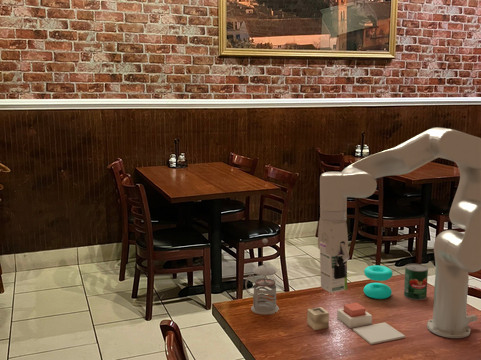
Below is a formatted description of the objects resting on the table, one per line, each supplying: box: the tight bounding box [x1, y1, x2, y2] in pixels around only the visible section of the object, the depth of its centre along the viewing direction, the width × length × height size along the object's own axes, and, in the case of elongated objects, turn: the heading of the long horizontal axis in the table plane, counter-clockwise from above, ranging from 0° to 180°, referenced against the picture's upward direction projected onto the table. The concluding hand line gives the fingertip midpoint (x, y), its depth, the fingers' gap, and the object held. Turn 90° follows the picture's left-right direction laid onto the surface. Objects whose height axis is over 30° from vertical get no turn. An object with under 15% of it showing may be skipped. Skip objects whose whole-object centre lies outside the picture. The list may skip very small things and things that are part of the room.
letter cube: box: [306, 306, 330, 331], centre depth 167 cm, size 5×5×5 cm
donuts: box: [363, 264, 393, 300], centre depth 191 cm, size 10×10×10 cm
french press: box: [244, 238, 280, 316], centre depth 179 cm, size 10×12×25 cm
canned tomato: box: [403, 263, 429, 301], centre depth 190 cm, size 8×8×11 cm
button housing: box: [336, 307, 373, 329], centre depth 170 cm, size 8×8×3 cm
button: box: [343, 302, 367, 317], centre depth 170 cm, size 5×5×3 cm
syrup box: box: [319, 241, 348, 294], centre depth 153 cm, size 6×6×14 cm
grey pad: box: [352, 322, 406, 345], centre depth 161 cm, size 12×10×1 cm
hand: (333, 273), depth 154 cm, fingers closed on syrup box, 5 cm apart
